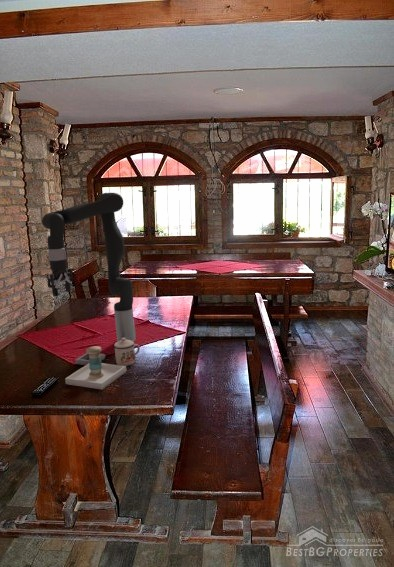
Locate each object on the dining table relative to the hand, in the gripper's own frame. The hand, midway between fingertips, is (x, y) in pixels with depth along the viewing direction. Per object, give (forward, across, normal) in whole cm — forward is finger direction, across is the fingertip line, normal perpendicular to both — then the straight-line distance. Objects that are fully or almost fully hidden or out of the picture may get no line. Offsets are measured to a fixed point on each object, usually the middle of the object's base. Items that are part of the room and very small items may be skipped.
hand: (62, 293), depth 204 cm
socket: (+32, +2, -10) cm, 34 cm away
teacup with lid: (+32, +6, -28) cm, 43 cm away
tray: (+32, -13, -24) cm, 42 cm away
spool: (+31, -13, -24) cm, 41 cm away
